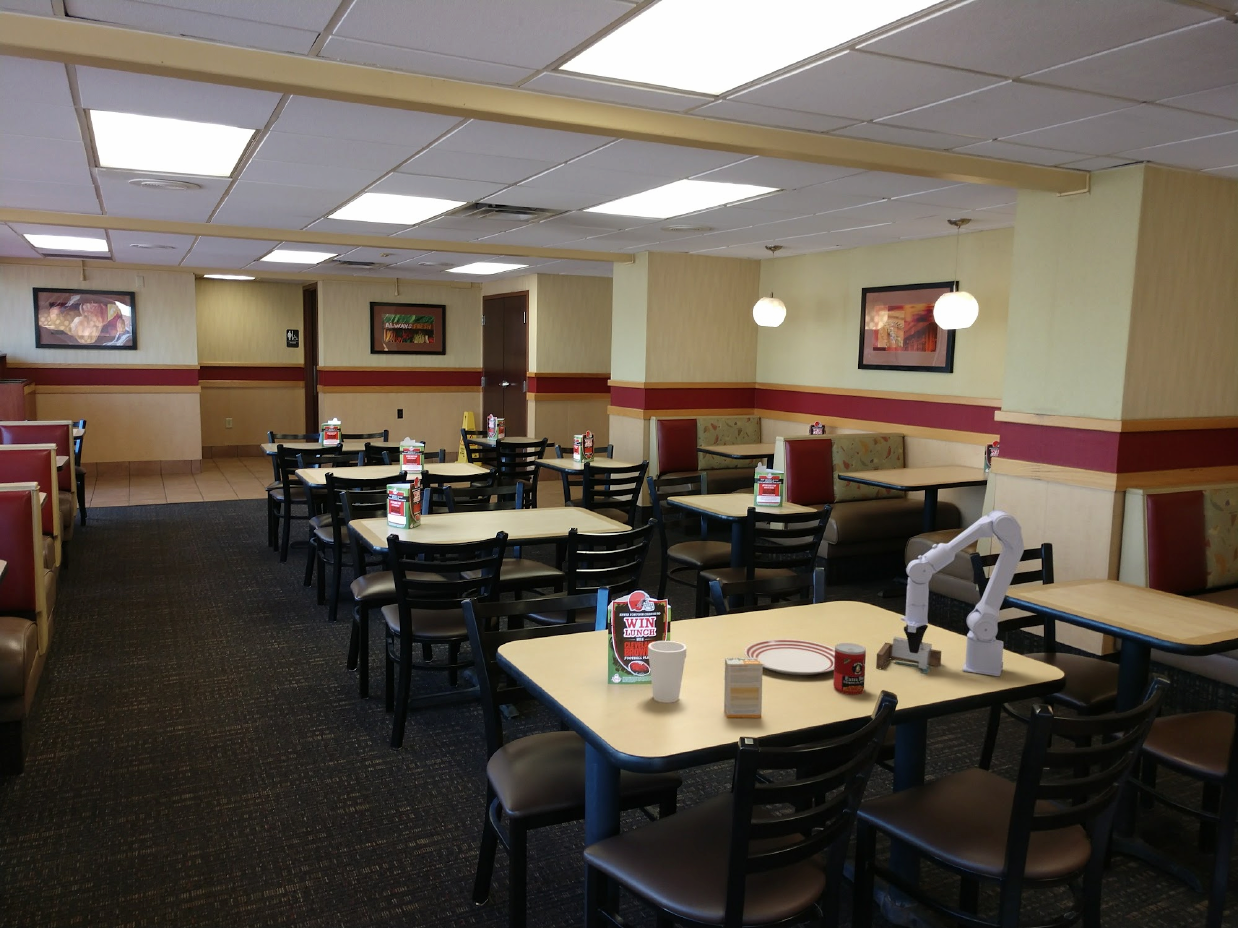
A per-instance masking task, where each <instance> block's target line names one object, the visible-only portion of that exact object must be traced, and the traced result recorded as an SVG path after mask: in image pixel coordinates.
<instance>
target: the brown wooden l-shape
mask: <svg viewBox="0 0 1238 928" xmlns="http://www.w3.org/2000/svg"><path fill="white" fill-rule="evenodd" d="M892 648H893V642H884V644H883V645H882V647H880V649H879V650H878V652H877V653H876V663H875V665H876V666H875V667H876V669H879V668H881V669H880V670H882V669H883V668H884V666H885V665H886V664H887V662H888V661H889V660H890V658H891V660H895V661H897V660H898V661H903V660H904V661H903V662H908V663H915V664H919V661H914V660H910V659H905V658H900V657H896V656H892ZM885 663H886V664H885ZM929 665H930V666H936V667H941V665H942V650H940V649H933V648H931V656H930V662H929V664H928V666H929Z"/></svg>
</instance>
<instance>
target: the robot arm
mask: <svg viewBox="0 0 1238 928" xmlns="http://www.w3.org/2000/svg"><path fill="white" fill-rule="evenodd" d="M995 536H996V538H997V540H998V541H999V544H1000V546H1001V547H1002V548H1001V551H1000V554H999V556H998V557H997V558H998V559H997V561H996V563H995V566H994V568H993V570H992V573H991V575H990V577H989V580H988V583H987V585H986V588H985V590H984V592H983V595H982V597H981V599H980V601H978V602H977V604H975V607H974V609H973V610H972V611H971V612H970V613H969V614H968V615H967V617H966V624H967V627H968V628H969V631H968V633H967V635H966V653H965V662H964V664H963V666H962V671H963V672H969V673H975V674H980V675H981V674H982V675H987V676H994V677H1000V676H1001V674H1002V670H1003V668H1004V660H1003V658H1004V657H1003V656H1004V641H1002V640H998V639H996V636H997V634H998V631H999V628H998V623H999V620H1000V608H1001V606H1002V605H1003V602H1004V599H1005V597H1006V594H1007V592H1008V590H1009V587H1010V585H1011V582H1012V581H1013V578H1014V575H1015V572H1016V570H1017V568H1018V566H1019V563H1020V561H1021V558H1022V556H1023V554H1024V551H1025V545H1024V539H1023V536H1022V527H1021V525H1020V523H1019V522H1018V521H1017V519H1016V518H1015V517H1014V516H1013V515H1010V514H1008V513H1007V512H1005V511H1004V510H1002V509H1001V510H1000V509H995V510H991V512H989V513H988V514H987V515H983V516H981V517H980V518H979V519H978V520H977V521H975V522H974V523H973V524H971V525H970V526H968V528H966V529H965V530H963V531H962V532H961V533H959V534H958V535H957V536H955V537H954V538H953V539H952V540H951V541H949V542H948V543H944V542H940V543H939V544H936V543H935V544H933V545H932V546H931V547H932V548H931V549H930V550H928V551H927V552H925V553H924V554H923V555H921V554H920V555H918V556H917V558H918V559H913V560H911V561H910V562H909V563H908V565H906V568H905V571H906V574H907V576H908V577H907V586H906V600H905V601H906V603H905V616H901V618H900V621H903V622H904V623H906V624H905V625H904V627H903V632H904V634H905V635H906V639H907V640H908V645H909V651H910V653H916V654H917V653H918V651H919V647H920V643H921V642H923V639H924V635H925V633H926V631H927V629H928V627H929V625H928V622H929V620H928V613H929V593H930V591H929V590H930V588H929V583H930V581H931V579H932V575H933V574H936V573H937V572H939V571H941V570H942V569H943V568H944V567H946V566H947V565H950V563H952V562H953V561H954V560H955V556H956V553H958V552H960V551H961V550H963V549H965V548H967V547H968V546H969V545H971V544H972V543H975V542H976V541H978V540H980V538H981V539H982V538H995Z"/></svg>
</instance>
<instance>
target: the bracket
mask: <svg viewBox="0 0 1238 928" xmlns="http://www.w3.org/2000/svg"><path fill="white" fill-rule="evenodd" d="M892 640H893V641H892V644H893V648H892V656H896V657H900V658H905V659H910V660H914V661H919V663H918V665H919V666H918V667H917V668H918V669H926V668H927V666H929V662H930V656H931V649H933V648H932V646H933V644H932V643H928V642H923V641H922V642H921V643H920V647H919V651H918V653H917V654H916V653H910V651H909V645H908V640H907V638H904V637H899V636H894V637H893V639H892Z"/></svg>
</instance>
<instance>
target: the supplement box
mask: <svg viewBox="0 0 1238 928" xmlns="http://www.w3.org/2000/svg"><path fill="white" fill-rule="evenodd" d="M763 668H764V667H763V664H762V663H761V661H760V659H759V658H747V657H725V658H724V694H723V695H724V698H723V699H724V701H723V704H724V705H723V709H724V710H723V711H724V713H725V715H726V719H727V718H729V719H731V718H733V719H734V718H735V719H737V718H738V719H739V718H742V719H743V718H744V719H745V718H750V719H751V718H753V719H754V718H755V719H756V718H760V719H761V718H762V713H763V712H762V711H763V710H762V709H763V707H762V703H763Z"/></svg>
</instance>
